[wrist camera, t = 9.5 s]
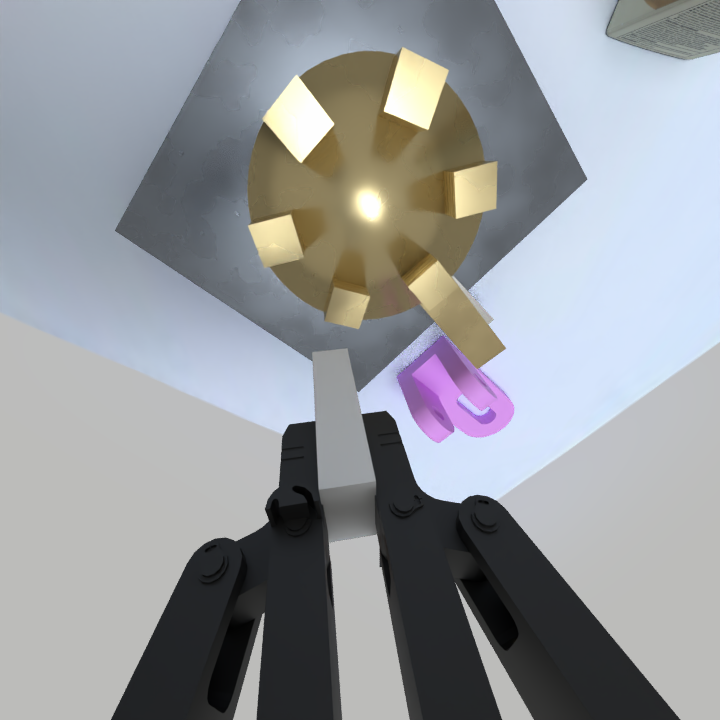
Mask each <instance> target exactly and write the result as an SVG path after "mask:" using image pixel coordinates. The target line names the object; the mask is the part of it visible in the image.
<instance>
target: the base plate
mask: <svg viewBox="0 0 720 720" xmlns="http://www.w3.org/2000/svg"><path fill="white" fill-rule="evenodd" d="M402 47H404V48H406V49H408V50H410V51H412V52H414V53H416V54H418V55H420V56H422V57H424V58H426V59H428V60H430V61H432V62H434V63H436V64H438V65H440V66H442V67H444V68H446V69H448V70H449V72H448V74H447V77H446V80H445V82H446V83H448V85H449V86H450V87H451V88H452V89H453V90H454V92H455V93H456V94H457V95H458V96H459V97H460V99H461V101H462V102H463V104H464V105H465V107H466V109H467V110H468V112H469V113H470V116H471V118H472V120H473V122H474V124H475V127H476V129H477V131H478V135H479V138H480V141H481V145H482V149H483V154H484V160H485V161H497V200H496V209H493V210H489V211H485V212H483V214H482V218H481V222H480V225H479V229H478V232H477V234H476V237H475V239H474V242H473V244H472V246H471V248H470V250H469V252H468V254H467V256H466V258H465V259H464V261H463V262H462V264H461V265H460V267H459V268H458V270H457V271H456V272H455V274H454V275H453V276H452V278H453V279H454V280H455V282H456V283H457V284H458V286H459V287H460V288H461V290H462V291H463V292H464V294H465V295H466V296H467V298H468V299H469V300H470V302H471V303H472V304H473V305H474V307H475V308H476V309H477V311H478V312H479V313H480V315H481V316H482V317H483V319H484V320H485V321H486V323H487V324H489V323H491V322H492V321H493V320H494V319H493V318H492V317H491V316H490V315H489V314H488V313H487V312H486V311H485V309H484V308H483V307H482V306H481V305H480V304H479V303H478V302H477V301H476V300H475V299H474V298H473V296H472V295H471V294H470V293H469V292H468V290H469V289H470V288H471V287H472V286H473V285H474V284H475V283H476V282H478V281H479V280H480V279H481V278H482V277H483V276H484V275H485V274H486V273H487V272H488V271H489V270H490V269H492V268H493V267H494V266H495V265H496V264H497V263H498V262H499V261H500V260H501V259H502V258H503V257H504V256H505V255H507V254H508V253H509V252H510V251H511V250H512V249H513V248H514V247H515V246H516V245H517V244H518V243H519V242H521V241H522V240H523V239H524V238H525V237H526V236H527V235H528V234H529V233H530V232H531V231H532V230H533V229H535V228H536V227H537V226H538V225H539V224H540V223H541V222H542V221H543V220H544V219H545V218H546V217H547V216H548V215H550V214H551V213H552V212H553V211H554V210H555V209H556V208H557V207H558V206H559V205H560V204H561V203H562V202H564V201H565V200H566V199H567V198H568V197H569V196H570V195H571V194H572V193H573V192H574V191H575V190H576V189H578V188H579V187H580V186H581V185H582V184H583V183H584V182H585V181H586V180H587V178H586V176H585V174H584V172H583V170H582V168H581V166H580V164H579V162H578V160H577V158H576V156H575V154H574V153H573V151H572V149H571V147H570V145H569V143H568V141H567V139H566V137H565V135H564V133H563V131H562V129H561V128H560V126H559V124H558V122H557V120H556V118H555V116H554V114H553V112H552V110H551V108H550V106H549V104H548V103H547V101H546V99H545V97H544V95H543V93H542V91H541V89H540V87H539V85H538V83H537V81H536V79H535V78H534V76H533V74H532V72H531V70H530V68H529V66H528V64H527V62H526V60H525V58H524V56H523V54H522V53H521V51H520V49H519V47H518V45H517V43H516V41H515V39H514V37H513V35H512V33H511V31H510V29H509V28H508V26H507V24H506V22H505V20H504V18H503V16H502V14H501V12H500V10H499V8H498V6H497V4H496V3H495V1H494V0H241V1H240V3H239V5H238V7H237V9H236V11H235V12H234V14H233V16H232V18H231V20H230V21H229V23H228V25H227V27H226V29H225V31H224V32H223V34H222V36H221V38H220V40H219V42H218V43H217V45H216V47H215V49H214V51H213V53H212V54H211V56H210V58H209V60H208V62H207V63H206V65H205V67H204V69H203V71H202V73H201V74H200V76H199V78H198V80H197V82H196V84H195V85H194V87H193V89H192V91H191V93H190V95H189V96H188V98H187V100H186V102H185V104H184V105H183V107H182V109H181V111H180V113H179V115H178V116H177V118H176V120H175V122H174V124H173V126H172V127H171V129H170V131H169V133H168V135H167V137H166V138H165V140H164V142H163V144H162V146H161V147H160V149H159V151H158V153H157V155H156V157H155V158H154V160H153V162H152V164H151V166H150V168H149V169H148V171H147V173H146V175H145V177H144V179H143V180H142V182H141V184H140V186H139V188H138V189H137V191H136V193H135V195H134V197H133V199H132V200H131V202H130V204H129V206H128V208H127V210H126V211H125V213H124V215H123V217H122V219H121V220H120V222H119V224H118V226H117V228H116V230H115V231H116V232H118V233H119V234H121V235H122V236H124V237H125V238H127V239H128V240H130V241H131V242H133V243H134V244H136V245H137V246H139V247H140V248H142V249H143V250H145V251H146V252H148V253H150V254H151V255H153V256H154V257H156V258H157V259H159V260H160V261H162V262H163V263H165V264H166V265H168V266H169V267H171V268H172V269H174V270H175V271H177V272H178V273H180V274H181V275H183V276H184V277H186V278H187V279H189V280H190V281H192V282H193V283H195V284H196V285H198V286H199V287H201V288H202V289H204V290H205V291H207V292H208V293H210V294H211V295H213V296H214V297H216V298H217V299H219V300H221V301H222V302H224V303H225V304H227V305H228V306H230V307H231V308H233V309H234V310H236V311H237V312H239V313H240V314H242V315H243V316H245V317H246V318H248V319H249V320H251V321H252V322H254V323H255V324H257V325H258V326H260V327H261V328H263V329H264V330H266V331H267V332H269V333H270V334H272V335H273V336H275V337H276V338H278V339H279V340H281V341H282V342H284V343H285V344H287V345H288V346H290V347H292V348H293V349H295V350H296V351H298V352H299V353H301V354H302V355H304V356H305V357H307V358H308V359H310V360H311V361H313V357H312V352H318V351H327V350H336V349H345V348H347V349H348V354H349V358H350V363H351V368H352V372H353V377H354V382H355V386H356V391H358V392H359V391H360V390H361V389H362V388H364V387H365V386H366V385H367V384H368V383H369V382H370V381H371V380H372V379H373V378H374V377H375V376H376V375H378V374H379V373H380V372H381V371H382V370H383V369H384V368H385V367H386V366H387V365H388V364H389V363H390V362H392V361H393V360H394V359H395V358H396V357H397V356H398V355H399V354H400V353H401V352H402V351H403V350H404V349H406V348H407V347H408V346H409V345H410V344H411V343H412V342H413V341H414V340H415V339H416V338H417V337H418V336H419V335H421V334H422V333H423V332H424V331H425V330H426V329H427V328H428V327H429V326H430V325H431V324H432V323H433V322H435V321H434V320H433V319H432V318H431V317H430V315H429V314H428V313H427V312H426V311H425V310H424V309H423V307H422V306H421V305H420V304H419V305H417V306H415V307H413V308H411V309H409V310H407V311H405V312H402V313H399V314H396V315H393V316H390V317H384V318H379V319H369V320H362V322H361V325H360V328H359V329H356V328H352V327H347V326H343V325H339V324H334V323H330V322H326V321H324V312H323V311H320V310H318V309H316V308H314V307H312V306H311V305H309V304H307V303H306V302H304V301H302V300H301V299H300V298H298V297H297V296H296V295H295V294H293V293H292V292H291V291H290V290H289V289H288V288H287V287H286V286H285V285H284V284H283V283H282V282H281V281H280V280H279V278H278V277H277V276H276V275H275V273H274V272H273V271H272V269H271V268H270V267H267V268H264V266H263V263H262V261H261V258H260V256H259V253H258V250H257V248H256V245H255V243H254V240H253V237H252V235H251V232H250V230H249V227H248V225H249V224H250V223H251V218H250V213H249V208H248V192H247V187H248V170H249V165H250V160H251V154H252V150H253V147H254V144H255V141H256V138H257V135H258V132H259V130H260V128H261V126H262V124H263V122H264V121H263V120H262V118H263V117H264V116H265V114H266V113H267V112H268V111H269V109H270V108H271V107H272V105H273V104H274V103H275V102H276V100H277V99H278V98H279V96H280V95H281V94H282V93H283V91H284V90H285V89H286V87H287V86H288V85H289V84H290V82H291V81H292V80H293V78H294V77H295V76H296V75H297V76H298V77H300V76H301V75H302V74H304V73H305V72H306V71H307V70H309V69H311V68H313V67H314V66H316V65H318V64H320V63H321V62H323V61H325V60H328V59H331V58H334V57H337V56H339V55H342V54H347V53H353V52H359V51H382V52H388V53H393V54H397V52H398V51H399V50H400V49H401V48H402Z"/></svg>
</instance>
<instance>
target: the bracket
mask: <svg viewBox="0 0 720 720" xmlns="http://www.w3.org/2000/svg"><path fill="white" fill-rule="evenodd" d="M397 379H398V381H399V384H400V386H401V389H402V392H403V394H404V397H405V399H406V402H407V404H408V407H409V410H410V412H411V415H412V417H413V418H414V420H415V422H416V423H417V425H418V426H419V427H420V428H421V430H422V431H423V432H424V433H425V434H426V435H427V436H428V437H429V438H430V439H432V440H433V441H435V442H437V443H440V442H441V441H443V440H444V439H445V438H447V437H448V436H449V435H451V434H452V433H453V432H454V426H456V427H457V428H458V429H460V430H461V431H462V432H464V433H465V434H467V435H469V436H471V437H486V436H489V435H492V434H495V433H497V432H498V431H500V430H501V429H503V428H504V427H505V426H506V425H507V424H508V423H509V422H510V420H511V419H512V417H513V414H514V405H513V403H512V402H511V401H510V399H509V398H508V397H507V396H506V394H505V393H504V392H503V391H502V390H501V389H500V388H498V387H497V386H496V385H495V384H494V383H493V382H492V381H491V380H490V379H489V378H488V377H487V376H486V375H485V374H484V373H483V372H481V371H480V370H479V369H476V368H475V367H474V366H473V364H472V363H471V362H470V361H469V360H468V359H467V358H466V357H465V356H464V355H463V354H462V353H461V352H460V351H459V350H458V349H457V348H456V347H455V346H454V345H453V344H452V343H451V342H450V341H448V340H447V339H446V338H445V337H444V336H442V337H441V338H440V339H438V340H437V341H436V342H435V343H434V344H433V345H432V346H431V347H429V348H428V349H427V350H426V351H425V352H424V353H423V354H422V355H421V356H419V357H418V358H417V359H416V360H415V361H414V362H413V363H412V364H410V365H409V366H408V367H407V368H406V369H405V370H404V371H403V372H401V373H400V374H399V375H398V376H397ZM462 394H464V396H465V397H466V398H467V399H468V400H469V401H470V402H471V403H472V404H473V405H474V406H476V407H477V408H478V409H479V410H481V411H482V410H484V409H485V408H486V407H490V410H489V412H488V413H486V414H485V415H482V416H476V415H474V414H473V413H472V412H471V411H469V410H468V409H467V408H466V407H464V406H463V405H462V404H461V403H460V402H458V401H457V399H458V397H459V396H460V395H462ZM453 425H454V426H453Z"/></svg>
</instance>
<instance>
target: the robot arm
mask: <svg viewBox="0 0 720 720" xmlns="http://www.w3.org/2000/svg"><path fill="white" fill-rule="evenodd" d="M312 357H313V379H314V400H315V421H312V422H305V423H297V424H290V425H289V426H288V427H287V429H286V431H285V433H284V435H283V436H282V437H283V438H282V452H281V466H280V481H279V488H278V489H276V490H275V491H274V492H273V493H272V495H271V496H270V498H269V499H268V501H267V504H266V508H265V511H266V513H267V516H268V519H269V522H268V523H266V525H265V526H263V527H262V528H261V529H259V530H257V531H256V532H254V533H252V534H250V535H248V536H246V537H244V538H242V539H240V540H238V541H236V542H235V541H234V540H231V539H228V538H217V539H214V540H211V541H209V542H207V543H205V544H204V545H203V546H201V547H200V548H199V549H198V550H197V551H196V552H195V553H194V554H193V556H192V557H191V559H190V560H189V562H188V563H187V565H186V567H185V569H184V571H183V573H182V575H181V577H180V579H179V581H178V583H177V585H176V587H175V589H174V592H173V594H172V596H171V598H170V600H169V602H168V604H167V606H166V608H165V610H164V612H163V614H162V616H161V618H160V620H159V622H158V624H157V627H156V628H155V630H154V633H153V635H152V637H151V639H150V641H149V643H148V645H147V647H146V649H145V651H144V653H143V655H142V657H141V659H140V661H139V664H138V665H137V667H136V669H135V671H134V674H133V676H132V678H131V680H130V682H129V684H128V686H127V688H126V690H125V692H124V694H123V696H122V698H121V700H120V703H119V704H118V706H117V708H116V711H115V713H114V715H113V717H112V719H111V720H233V717H234V714H235V710H236V707H237V703H238V699H239V696H240V692H241V689H242V685H243V682H244V678H245V674H246V671H247V667H248V664H249V660H250V656H251V653H252V649H253V646H254V642H255V638H256V635H257V631H258V628H259V624H260V620H261V617H262V614H263V613H265V618H264V631H263V643H262V656H261V669H260V681H259V695H258V707H257V720H342V712H341V699H340V698H341V697H340V684H339V669H338V655H337V641H336V628H335V612H334V598H333V584H332V569H331V561H330V555H329V542H335V541H341V540H347V539H353V538H359V537H365V536H370V535H376V534H377V535H378V541H379V546H380V567H382V570H383V576H384V581H385V587H386V593H387V597H388V604H389V609H390V614H391V620H392V625H393V631H394V635H395V642H396V647H397V653H398V657H399V663H400V669H401V674H402V680H403V685H404V691H405V696H406V702H407V707H408V712H409V717H410V720H502V719H501V716H500V712H499V710H498V707H497V704H496V701H495V698H494V695H493V692H492V689H491V686H490V684H489V680H488V677H487V674H486V672H485V669H484V666H483V663H482V660H481V657H480V654H479V651H478V648H477V646H476V642H475V639H474V637H473V634H472V631H471V628H470V625H469V622H468V619H467V616H466V613H465V610H464V607H463V604H462V602H461V599H460V596H459V593H458V590H457V587H456V584H457V586H458V588H459V590H460V591H461V593H462V595H463V597H464V598H465V600H466V602H467V604H468V605H469V607H470V609H471V610H472V612H473V614H474V616H475V617H476V619H477V621H478V623H479V625H480V626H481V628H482V630H483V632H484V633H485V635H486V637H487V639H488V640H489V642H490V644H491V645H492V647H493V649H494V651H495V652H496V654H497V656H498V658H499V659H500V661H501V663H502V665H503V666H504V668H505V669H506V672H507V673H508V675H509V677H510V679H511V680H512V682H513V684H514V685H515V687H516V689H517V691H518V692H519V694H520V696H521V698H522V699H523V701H524V703H525V705H526V706H527V708H528V710H529V712H530V713H531V715H532V717H533V719H534V720H680V719H679V718H678V716H677V715H676V714H675V713H674V712H673V710H672V709H671V708H670V707H669V706H668V704H667V703H666V702H665V701H664V700H663V698H662V697H661V696H660V695H659V694H658V692H657V691H656V690H655V689H654V688H653V686H652V685H651V684H650V683H649V681H648V680H647V679H646V678H645V677H644V675H643V674H642V673H641V672H640V671H639V669H638V668H637V667H636V666H635V665H634V663H633V662H632V661H631V660H630V659H629V657H628V656H627V655H626V654H625V652H624V651H623V650H622V649H621V648H620V646H619V645H618V644H617V643H616V642H615V640H614V639H613V638H612V637H611V636H610V634H608V632H607V631H606V629H605V628H604V627H603V626H602V625H601V624H600V622H599V621H598V620H597V619H596V617H595V616H594V615H593V614H592V613H591V612H590V610H589V609H588V608H587V607H586V605H585V604H584V603H583V602H582V601H581V599H580V598H579V597H578V596H577V595H576V593H575V592H574V591H573V590H572V589H571V587H570V586H569V585H568V584H567V583H566V581H565V580H564V579H563V578H562V577H561V575H560V574H559V573H558V572H557V570H556V569H555V568H554V567H553V566H552V564H551V563H550V562H549V561H548V560H547V558H546V557H545V556H544V555H543V554H542V552H541V551H540V550H539V549H538V547H537V546H536V545H535V544H534V543H533V541H532V540H531V539H530V538H529V537H528V535H527V534H526V533H525V532H524V531H523V529H522V528H521V527H520V526H519V525H518V523H517V522H516V521H515V520H514V519H513V517H512V516H511V515H510V514H509V512H508V511H507V510H506V509H505V508H504V507H503V506H502V505H501V504H500V503H498V502H497V501H496V500H494V499H492V498H490V497H488V496H481V495H474V496H470V497H468V498H466V499H465V500H464V501H462V503H454V502H448V501H442V500H438V499H435V498H433V497H431V496H429V495H427V494H426V493H425V492H423V491H422V490H421V489H420V487H419V486H418V485H417V483H416V481H415V479H414V476H413V473H412V470H411V467H410V464H409V461H408V458H407V455H406V452H405V449H404V446H403V444H402V440H401V437H400V434H399V431H398V428H397V424H396V421H395V420H394V419H393V418H392V416H391V415H390V414H389V413H388V412H387V411H382V412H374V413H367V414H361V409H360V405H359V400H358V395H357V391H356V386H355V382H354V377H353V372H352V368H351V363H350V358H349V354H348V349H347V348H345V349H336V350H327V351H318V352H312ZM455 583H456V584H455Z"/></svg>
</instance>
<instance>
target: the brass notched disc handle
mask: <svg viewBox="0 0 720 720" xmlns="http://www.w3.org/2000/svg"><path fill="white" fill-rule="evenodd" d="M448 72H449V70H448V69H446V68H444V67H442V66H440V65H438V64H436V63H434V62H432V61H430V60H428V59H426V58H424V57H422V56H420V55H418V54H416V53H414V52H412V51H410V50H408V49H406V48H404V47H402V48H401V49H400V50H399V51H398V52H397V54H393V53H388V52H382V51H359V52H353V53H347V54H342V55H339V56H337V57H334V58H331V59H328V60H325V61H323V62H321V63H320V64H318V65H316V66H314V67H313V68H311V69H309V70H307V71H306V72H305V73H304V74H302V75H301V76H300V77H298V76H297V75H296V76H295V77H294V78H293V80H292V81H291V82H290V84H289V85H288V86H287V87H286V89H285V90H284V91H283V93H282V94H281V95H280V96H279V98H278V99H277V100H276V102H275V103H274V104H273V105H272V107H271V108H270V109H269V111H268V112H267V113H266V114H265V116H264V117H263V118H262V120H263V121H264V122H263V124H262V126H261V128H260V130H259V132H258V135H257V138H256V141H255V144H254V147H253V150H252V154H251V160H250V165H249V170H248V187H247V192H248V208H249V213H250V218H251V223H250V224H249V225H248V227H249V230H250V232H251V235H252V237H253V240H254V243H255V245H256V248H257V250H258V253H259V256H260V258H261V261H262V263H263V266H264V268H267V267H270V268H271V269H272V271H273V272H274V273H275V275H276V276H277V277H278V278H279V280H280V281H281V282H282V283H283V284H284V285H285V286H286V287H287V288H288V289H289V290H290V291H291V292H292V293H293V294H295V295H296V296H297V297H298V298H300V299H301V300H302V301H304V302H306V303H307V304H309V305H311V306H312V307H314V308H316V309H318V310H320V311H323V312H324V321H326V322H330V323H334V324H339V325H343V326H347V327H352V328H356V329H359V328H360V325H361V322H362V320H369V319H379V318H384V317H390V316H393V315H396V314H399V313H402V312H405V311H407V310H409V309H411V308H413V307H415V306H417V305H419V304H420V305H421V306H422V307H423V309H424V310H425V311H426V312H427V313H428V314H429V315H430V317H431V318H432V319H433V320H434V321H435V322H436V323H437V325H438V326H439V327H440V328H441V329H442V330H443V331H444V333H445V334H446V335H447V336H448V337H449V338H450V339H451V340H452V342H453V343H454V344H455V345H456V346H457V347H458V348H459V350H460V351H461V352H462V353H463V354H464V355H465V356H466V358H467V359H468V360H469V361H470V362H471V363H472V364H473V366H474V367H475V368H476V369H478V368H480V367H481V366H482V365H484V364H485V363H487V362H488V361H489V360H491V359H492V358H493V357H495V356H496V355H498V354H499V353H500V352H502V351H503V350H505V349H506V348H505V346H504V345H503V344H502V342H501V341H500V340H499V338H498V337H497V336H496V335H495V333H494V332H493V331H492V329H491V328H490V327H489V325H488V324H487V323H486V321H485V320H484V319H483V317H482V316H481V315H480V313H479V312H478V311H477V309H476V308H475V307H474V305H473V304H472V303H471V302H470V300H469V299H468V298H467V296H466V295H465V294H464V292H463V291H462V290H461V288H460V287H459V286H458V284H457V283H456V282H455V280H454V279H453V278H452V276H453V275H454V274H455V272H456V271H457V270H458V268H459V267H460V265H461V264H462V262H463V261H464V259H465V258H466V256H467V254H468V252H469V250H470V248H471V246H472V244H473V242H474V239H475V237H476V234H477V232H478V229H479V225H480V222H481V218H482V214H483V212H485V211H489V210H493V209H496V200H497V161H485V160H484V154H483V149H482V145H481V141H480V138H479V135H478V131H477V129H476V127H475V124H474V122H473V120H472V118H471V116H470V113H469V112H468V110H467V109H466V107H465V105H464V104H463V102H462V101H461V99H460V97H459V96H458V95H457V94H456V93H455V92H454V90H453V89H452V88H451V87H450V86H449V85H448V83H446V82H445V80H446V77H447V74H448Z"/></svg>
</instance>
